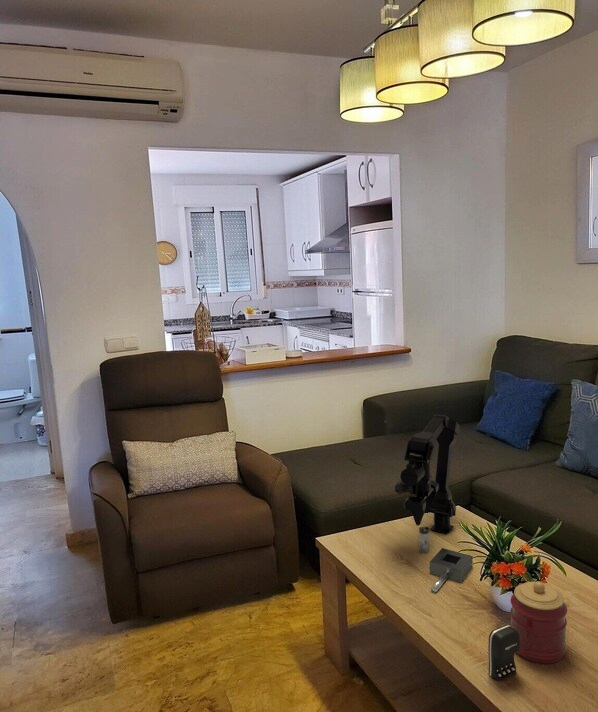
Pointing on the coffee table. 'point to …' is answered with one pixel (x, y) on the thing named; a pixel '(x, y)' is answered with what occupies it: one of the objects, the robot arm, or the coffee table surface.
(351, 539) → the coffee table surface
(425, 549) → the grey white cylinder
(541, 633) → the canister
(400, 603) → the coffee table surface
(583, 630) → the coffee table surface
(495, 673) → the battery charger
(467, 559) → the chuck block
